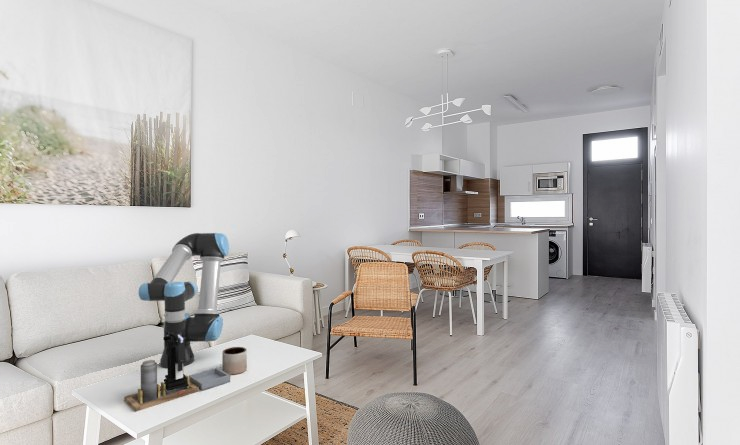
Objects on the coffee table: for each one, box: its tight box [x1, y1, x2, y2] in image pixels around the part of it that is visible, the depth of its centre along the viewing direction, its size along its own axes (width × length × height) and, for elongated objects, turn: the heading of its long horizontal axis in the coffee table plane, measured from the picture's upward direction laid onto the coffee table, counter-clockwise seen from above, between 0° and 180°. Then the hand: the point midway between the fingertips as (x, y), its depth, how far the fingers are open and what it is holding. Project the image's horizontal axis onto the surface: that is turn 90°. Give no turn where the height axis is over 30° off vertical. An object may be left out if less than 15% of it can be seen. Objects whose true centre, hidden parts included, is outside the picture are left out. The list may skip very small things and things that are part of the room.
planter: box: [221, 346, 248, 376], centre depth 189 cm, size 11×11×10 cm
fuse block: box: [123, 359, 200, 412], centre depth 162 cm, size 13×24×15 cm, turn 137°
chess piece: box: [163, 334, 189, 392], centre depth 166 cm, size 8×8×20 cm
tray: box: [188, 367, 231, 392], centre depth 176 cm, size 13×13×3 cm
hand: (175, 375), depth 166 cm, fingers closed on chess piece, 7 cm apart
